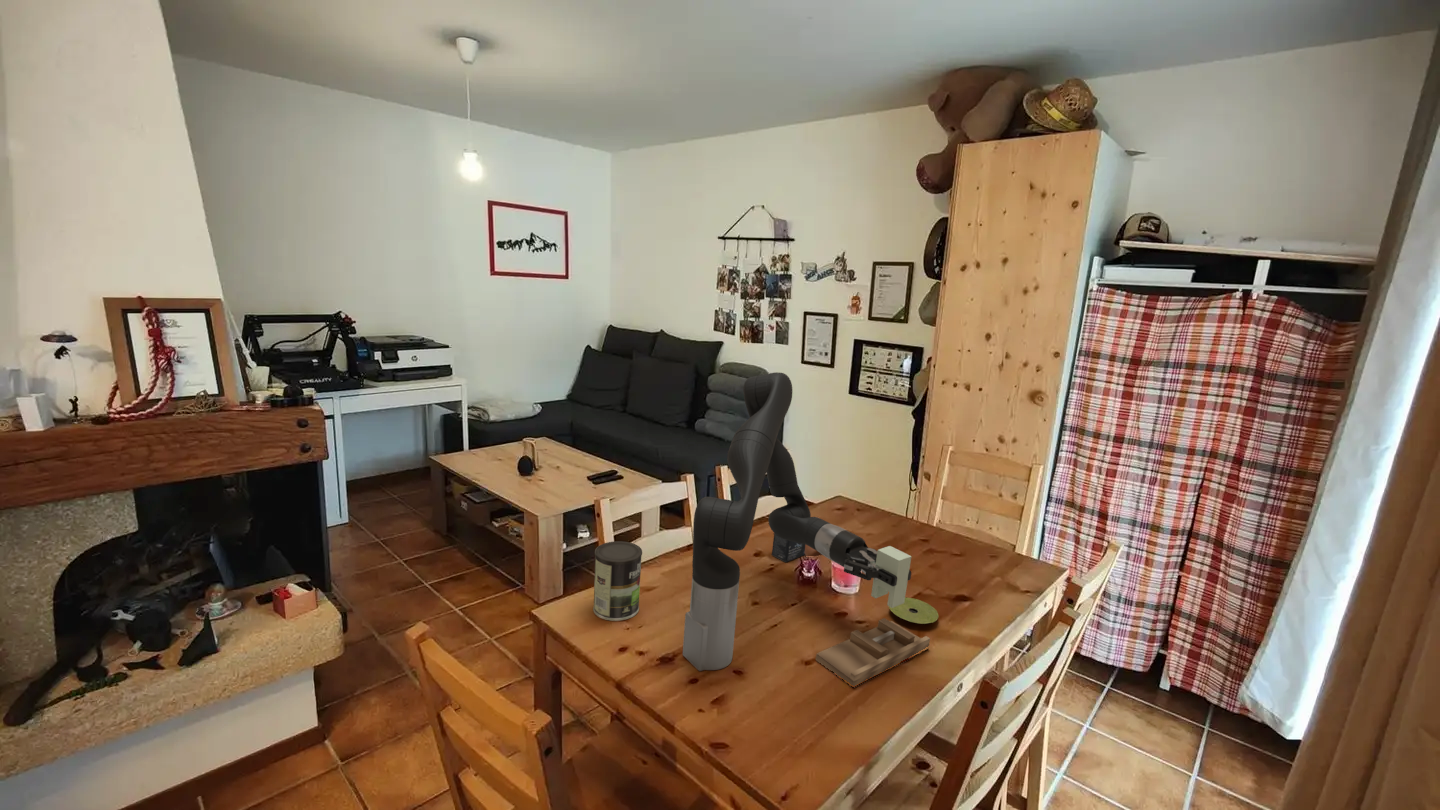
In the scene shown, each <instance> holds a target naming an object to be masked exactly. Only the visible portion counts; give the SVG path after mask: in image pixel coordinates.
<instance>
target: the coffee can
mask: <svg viewBox="0 0 1440 810" xmlns="http://www.w3.org/2000/svg"><path fill="white" fill-rule="evenodd" d="M594 556H595V557H594V559H595V560H594V585H593V586H594V587H593V588H594V590H593V592H594V593H593V608H592V609H593V613H594V615H596V617H597V618H600V619H602V620H605V621H612V622H619V621H621V622H623V621H626V620H629V619H632V618H634V617H635V616H636V615H637V614H638V613H639V611H640V589H641V572H642V556H643V550H642V548H641V547H640V545H637V544H635V543H633V542H629V541H624V540H623V541H622V540H619V541H618V540H617V541H608V542H605V543H602V544H599V545H598V546H597V547H596V548H595V550H594Z"/></svg>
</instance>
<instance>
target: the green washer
mask: <svg viewBox="0 0 1440 810" xmlns="http://www.w3.org/2000/svg"><path fill="white" fill-rule="evenodd" d="M888 609H889V610H890V611H891V612H892V613H893V614H894V615H895V616H896V617H899V618H900V619H903V620H905V621H908V622H910V623H915V624H922V625H923V624H924V625H925V624H931V623H932V624H933V623H935V622H936V621H937V620H938V619H939V613H938V610H937V609H936V608H935V607H933V606H932V605H931V604H929V603H928V602H925V601H923V600H920V599H916V598H913V597H906V596H905V601H904V603H903V604H901V605H898V606H896V607H893V608H891V607H889V606H888Z"/></svg>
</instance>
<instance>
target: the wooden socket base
mask: <svg viewBox="0 0 1440 810" xmlns="http://www.w3.org/2000/svg"><path fill="white" fill-rule="evenodd" d="M930 641H931V638H930V637H929V636H927V635H924V636H923V637H919V636H918V635H916V634H914V633H913V632H912V631H909V630H908V629H907V628H905V627H903V626H902V625H900V624H898V623H896V622H894V621H893V620H888V619H887V618H886V617H883V618H881V619H879V620H878V622H877V626H876V627H874V628H871V629H869V630H867V631H865V632H862V631H860V630H859V629H855V630H853V631H851V632H850V637H849V638H848V639H846V640H844V641H842V642H840V643H837V644H835V645H833V646H830V647H828V648H826V649H823V650H821V651H819V652H816V654H815V661H816V662H817V663H819V664H820V663H821V665H822V666H823V665H824V666H825V667H824V666H823V667H824V668H826V669H827V668H828V669H829V670H828V669H827V670H828V671H830V670H831V671H833V672H834V673H836V674H837V675H838V676H840V677H841V678H843V679H844V680H846V681H847V682H849V683H850V684H851V685H853V686H855V685H857V684H859V683H861V682H863V681H865V680H866V679H869V678H870V677H873V676H874V675H877V674H879V673H880V672H883V671H885V670H886V669H888V668H890V667H892V666H894V665H896V664H898V663H900V662H901V661H903V660H905V659H907V658H909V657H910V656H912V655H914V654H916V653H918V652H919V651H921V650H923V649H925V648H926V647H928V646H929V647H930ZM831 671H830V672H831ZM834 673H833V674H834ZM838 676H837V677H838Z"/></svg>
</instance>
